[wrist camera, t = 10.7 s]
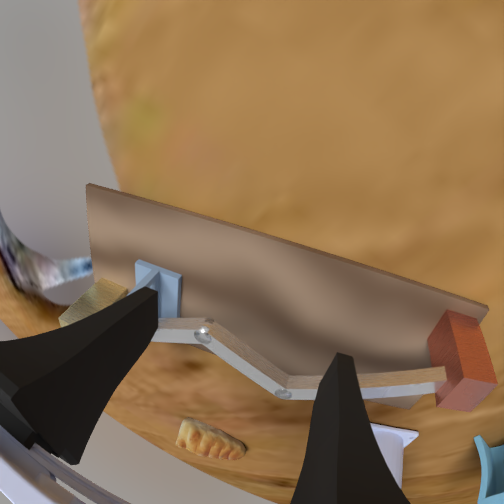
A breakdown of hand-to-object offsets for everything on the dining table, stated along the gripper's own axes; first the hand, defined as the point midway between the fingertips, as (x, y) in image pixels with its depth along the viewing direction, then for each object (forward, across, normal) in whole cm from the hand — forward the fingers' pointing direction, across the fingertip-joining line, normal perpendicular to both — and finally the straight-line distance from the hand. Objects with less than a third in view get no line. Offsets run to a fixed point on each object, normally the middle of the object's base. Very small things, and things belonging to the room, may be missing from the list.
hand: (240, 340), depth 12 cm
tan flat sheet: (+10, 0, +8) cm, 13 cm away
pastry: (+11, +3, +32) cm, 34 cm away
